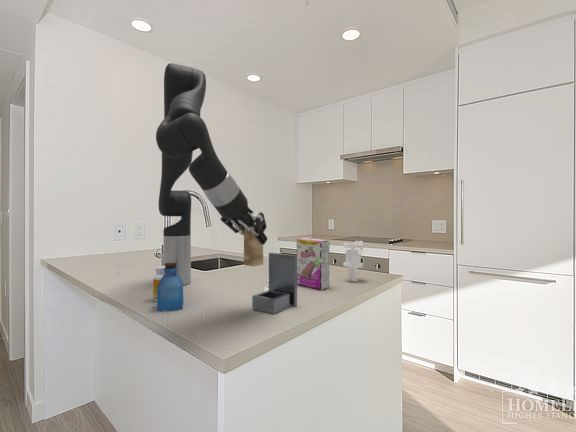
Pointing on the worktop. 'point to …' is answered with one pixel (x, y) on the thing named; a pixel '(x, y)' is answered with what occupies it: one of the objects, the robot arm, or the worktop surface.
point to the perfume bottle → (170, 289)
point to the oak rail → (252, 249)
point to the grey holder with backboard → (279, 285)
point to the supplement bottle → (157, 280)
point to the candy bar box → (313, 263)
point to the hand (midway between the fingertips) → (258, 241)
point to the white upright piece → (353, 259)
